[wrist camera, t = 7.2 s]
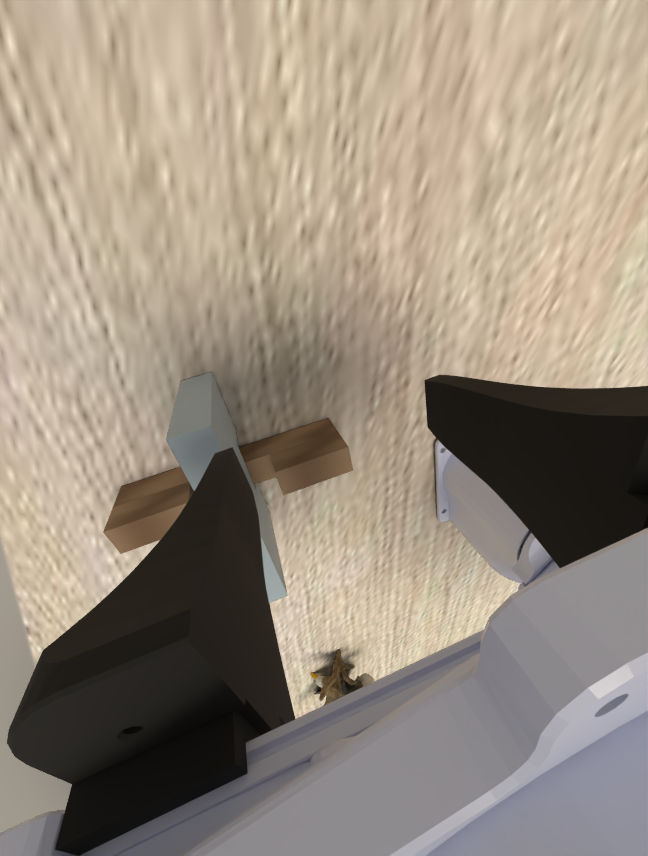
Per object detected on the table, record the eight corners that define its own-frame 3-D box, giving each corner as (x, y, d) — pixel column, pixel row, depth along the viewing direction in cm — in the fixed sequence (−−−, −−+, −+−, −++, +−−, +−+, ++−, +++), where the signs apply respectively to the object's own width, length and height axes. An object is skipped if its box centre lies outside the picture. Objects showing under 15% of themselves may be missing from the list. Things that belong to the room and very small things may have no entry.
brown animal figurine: (290, 671, 34) (288, 731, 37) (346, 723, 30) (338, 787, 33) (335, 625, 40) (330, 680, 43) (387, 663, 36) (378, 722, 38)
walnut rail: (328, 417, 23) (348, 446, 19) (333, 439, 24) (352, 470, 20) (121, 486, 21) (103, 532, 17) (135, 506, 22) (120, 553, 18)
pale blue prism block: (270, 515, 25) (287, 595, 19) (247, 523, 25) (258, 607, 19) (211, 371, 19) (210, 425, 13) (180, 380, 19) (165, 440, 13)
